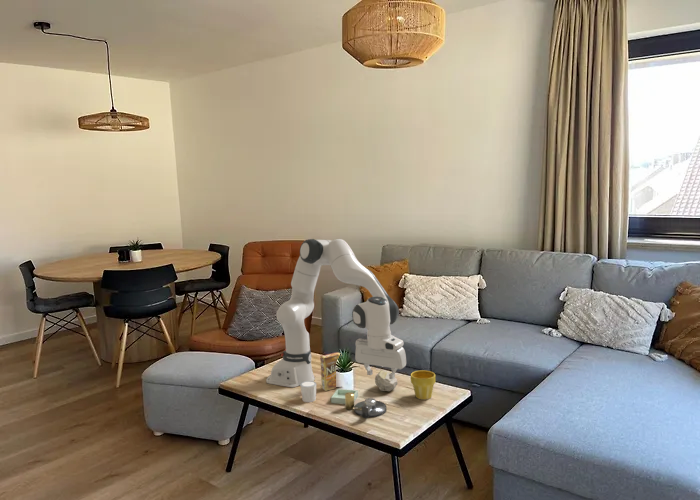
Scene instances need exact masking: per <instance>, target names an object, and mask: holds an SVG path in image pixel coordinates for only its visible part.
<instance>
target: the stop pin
mask: <svg viewBox="0 0 700 500" xmlns="http://www.w3.org/2000/svg"><path fill="white" fill-rule="evenodd" d="M344 405H345V410H347V411H354V409H353V408H354V406H355V402H354V393H351V392H348V393H346V394H345V404H344Z"/></svg>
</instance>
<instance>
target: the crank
mask: <svg viewBox="0 0 700 500" xmlns="http://www.w3.org/2000/svg"><path fill="white" fill-rule="evenodd" d="M364 401H365V405H363V406H362V416H361V417H362V418H363V419H368V418H370V417H369V414H370V412H371V410H372V409H374V408H376V401H377V400H376V399H375V398H373V397H372V398H371V397H369V398H366V399H365V400H364Z"/></svg>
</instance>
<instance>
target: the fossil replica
mask: <svg viewBox="0 0 700 500" xmlns="http://www.w3.org/2000/svg"><path fill="white" fill-rule="evenodd" d="M390 373H391V372H389V371H386V370H382V369H381V370H380V371H379V372H378V373H376V375H375V378H374V383H375V386H377V387H378V389H379V391H380V392H391V391H393V390H394V389H395V388H396V387H397V385H398V378H396V377H395V378H394V379H389V374H390Z"/></svg>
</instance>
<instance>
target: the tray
mask: <svg viewBox="0 0 700 500" xmlns="http://www.w3.org/2000/svg"><path fill="white" fill-rule="evenodd" d="M348 392H351V393H354V403H355V401H356V399H358V397H359V390H358V389H357V390H356V389H347V388H346V389H343V388H336V389H335V391H334V392H333V394H332V396H331V397H330V403H331V404H341V405H345V394H346V393H348Z"/></svg>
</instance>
